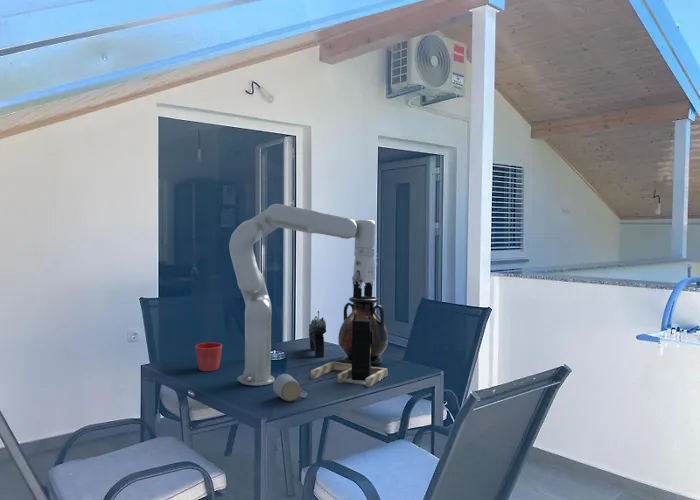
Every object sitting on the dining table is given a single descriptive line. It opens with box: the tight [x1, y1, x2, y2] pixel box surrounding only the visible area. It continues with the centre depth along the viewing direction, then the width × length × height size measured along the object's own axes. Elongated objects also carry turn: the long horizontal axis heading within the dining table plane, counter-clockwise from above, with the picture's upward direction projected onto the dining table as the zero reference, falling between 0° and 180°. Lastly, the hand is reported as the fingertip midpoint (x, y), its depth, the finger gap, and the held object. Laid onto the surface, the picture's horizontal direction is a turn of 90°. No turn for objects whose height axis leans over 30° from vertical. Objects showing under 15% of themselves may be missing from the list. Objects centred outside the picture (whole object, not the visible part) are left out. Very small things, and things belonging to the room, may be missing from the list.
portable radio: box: [351, 313, 373, 381], centre depth 217 cm, size 8×6×25 cm
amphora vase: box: [337, 295, 389, 367], centre depth 245 cm, size 22×22×28 cm
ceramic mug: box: [272, 373, 308, 402], centre depth 192 cm, size 11×8×8 cm
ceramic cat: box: [308, 310, 327, 358], centre depth 261 cm, size 20×6×20 cm, turn 13°
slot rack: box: [310, 361, 389, 388], centre depth 221 cm, size 18×24×3 cm
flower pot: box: [194, 342, 223, 372], centre depth 229 cm, size 11×11×10 cm
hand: (362, 297), depth 216 cm, fingers open, 9 cm apart
